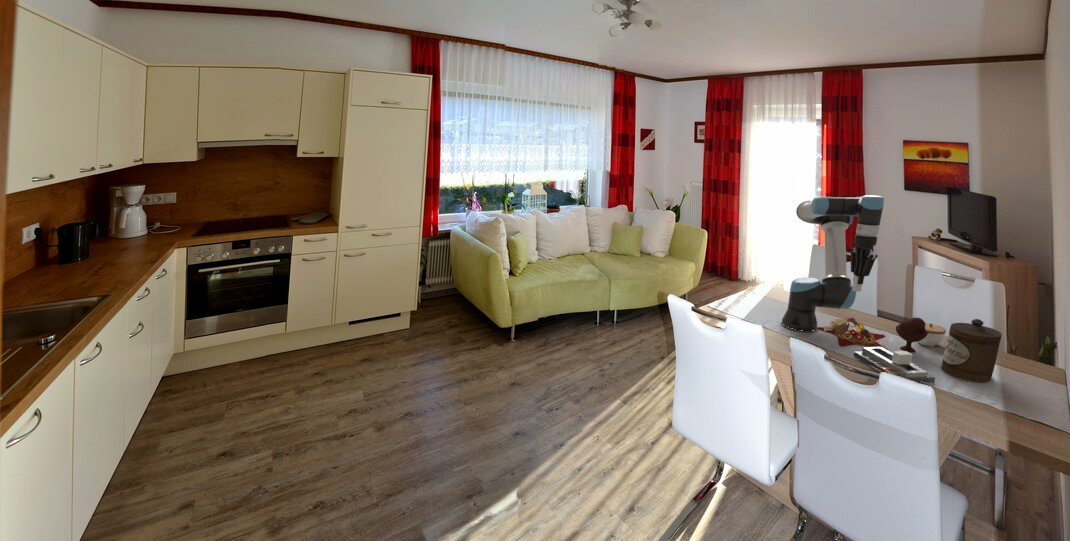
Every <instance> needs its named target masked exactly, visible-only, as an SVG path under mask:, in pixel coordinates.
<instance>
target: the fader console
mask: <svg viewBox="0 0 1070 541" xmlns="http://www.w3.org/2000/svg"><path fill="white" fill-rule="evenodd" d="M893 353H894V352H892V351H890V350H888V349H886V348H885V347H882V346H866V347H865V346H864V347H862V349H861V351H853V357H854V356H855V358H856V359H858V360H860V362H862V361H863V362H862V363H864V362H865V363H864V364H866V363H867V364H869V365H871V366H873V367H875V368H877V369H879V370H881V372H887V373H892V374H894V375H897V376H901V377H904V378H907V379H910V380H913V381H916V382H920V383H919V384H923V383H922V382H926V383H927V382H928V383H930V382H932V383H935V380H936V377H935V376H933V375H931V374H929V373H928V371H926V370H924V369H922V368H921V367H919V366H917V365H915V364H913V363H912V362H911V363H910V364H907V365H909V366H908V370H907V369H905V368H903V367H901V366H900V365H898V364H896V363H894V362H893V361H892V358H893ZM867 364H866V365H867ZM869 365H868V366H869ZM871 366H870V367H871ZM921 381H922V382H921ZM928 383H927V384H928Z"/></svg>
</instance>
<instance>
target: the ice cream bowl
mask: <svg viewBox="0 0 1070 541" xmlns="http://www.w3.org/2000/svg"><path fill="white" fill-rule="evenodd" d="M925 323H926V322H925V321H924V320H923V318H921V317H912V318H909V319H908V318H907V319H903V320H902V321H901V322H900V323H899V324H897V325H896V326H895V330H896V334H897V335H898V337H899V338H901V339H902V340H904V342H905V341H906V343H905V345H904V346H903V345H902V346H900V347H899V350H900V349H901V351H902V350H903V351H907V352H913V353H912V354H914V353H916V351H917V350H915V348H914V347H912V344H913V343H917V342H918V341H920V340H922V339H924V338H925V337H926V336H927V335H928V333H929V332H928V331H926V329H925ZM918 343H919V342H918Z"/></svg>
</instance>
